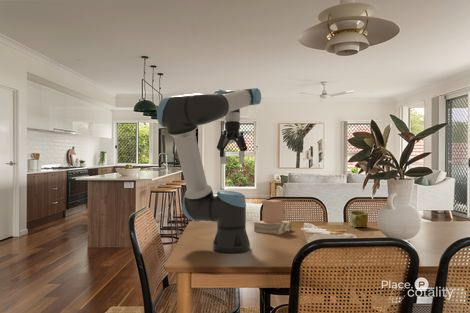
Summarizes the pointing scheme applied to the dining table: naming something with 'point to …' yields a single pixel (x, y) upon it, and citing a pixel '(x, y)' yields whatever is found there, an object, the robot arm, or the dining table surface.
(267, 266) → the dining table surface
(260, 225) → the ash block
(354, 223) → the mug
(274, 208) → the terracotta block
